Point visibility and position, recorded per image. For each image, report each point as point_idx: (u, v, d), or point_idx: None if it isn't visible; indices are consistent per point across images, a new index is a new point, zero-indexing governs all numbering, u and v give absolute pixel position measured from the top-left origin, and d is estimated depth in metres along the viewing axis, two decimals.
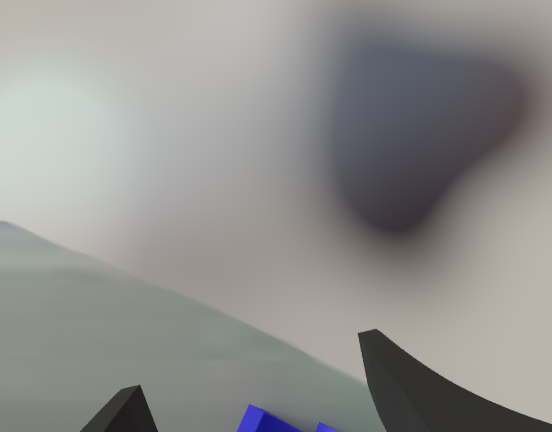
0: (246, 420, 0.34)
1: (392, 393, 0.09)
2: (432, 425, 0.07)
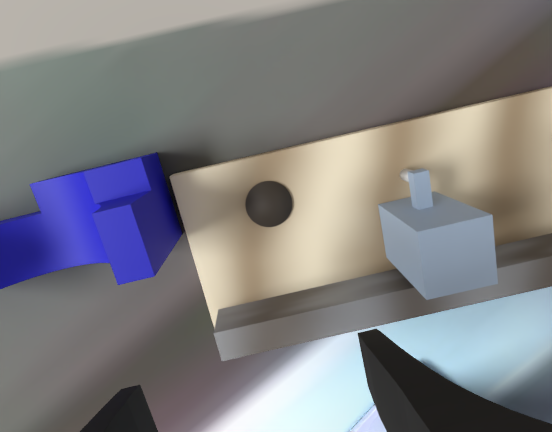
0: None
1: (392, 393, 0.09)
2: (432, 425, 0.07)
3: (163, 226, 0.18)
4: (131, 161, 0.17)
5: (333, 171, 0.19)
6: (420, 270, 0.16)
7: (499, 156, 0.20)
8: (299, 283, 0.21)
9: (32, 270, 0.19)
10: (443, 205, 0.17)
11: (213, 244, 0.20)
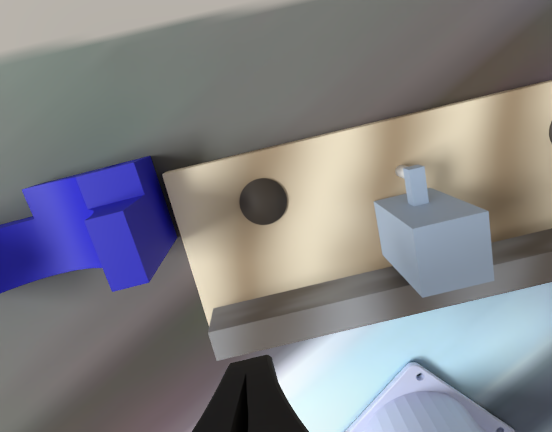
0: None
1: None
2: None
3: (157, 231, 0.18)
4: (124, 166, 0.17)
5: (328, 168, 0.19)
6: (416, 267, 0.15)
7: (495, 152, 0.19)
8: (294, 281, 0.21)
9: (26, 275, 0.19)
10: (439, 202, 0.17)
11: (207, 242, 0.20)
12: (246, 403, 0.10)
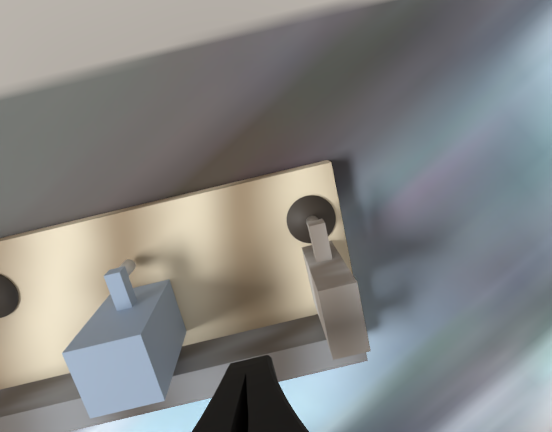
0: None
1: None
2: None
3: None
4: None
5: (56, 261, 0.18)
6: (80, 388, 0.15)
7: (233, 243, 0.19)
8: (42, 372, 0.20)
9: None
10: (139, 307, 0.16)
11: None
12: (246, 403, 0.10)
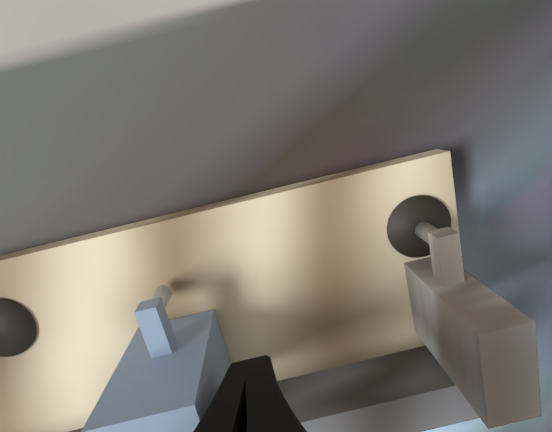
0: None
1: None
2: None
3: None
4: None
5: (86, 283, 0.14)
6: None
7: (316, 258, 0.14)
8: (66, 422, 0.16)
9: None
10: (182, 354, 0.12)
11: None
12: None
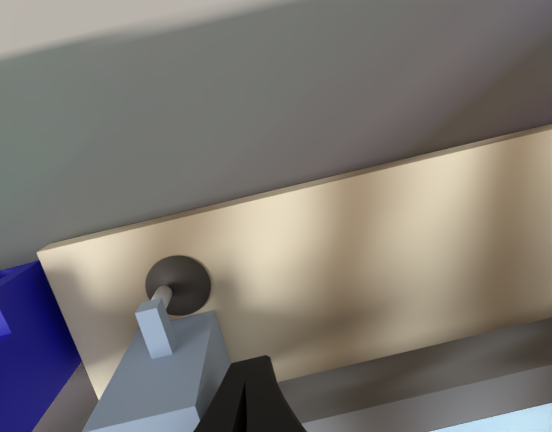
0: None
1: None
2: None
3: (34, 377, 0.13)
4: None
5: (265, 241, 0.14)
6: None
7: (492, 218, 0.14)
8: None
9: None
10: (182, 355, 0.12)
11: (105, 338, 0.15)
12: None
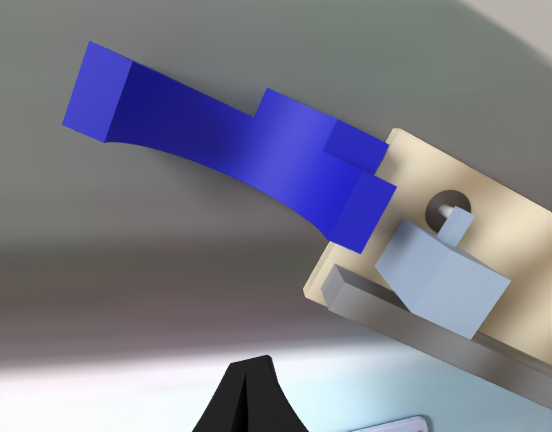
0: (88, 81, 0.13)
1: None
2: None
3: None
4: (380, 141, 0.17)
5: (511, 225, 0.20)
6: (425, 284, 0.16)
7: None
8: None
9: (205, 157, 0.18)
10: (464, 252, 0.18)
11: None
12: (246, 403, 0.10)
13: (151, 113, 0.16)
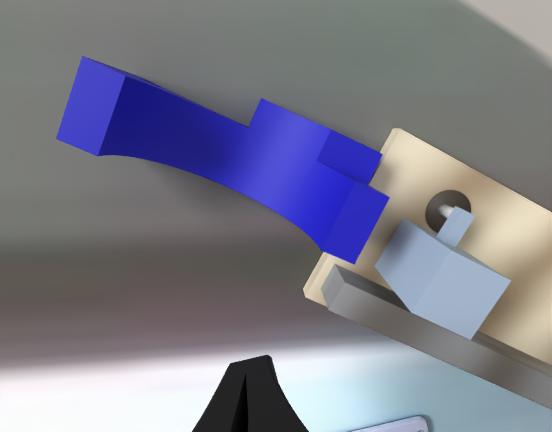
0: (81, 96, 0.13)
1: None
2: None
3: None
4: (373, 151, 0.17)
5: (511, 225, 0.20)
6: (425, 284, 0.16)
7: None
8: None
9: (199, 167, 0.18)
10: (464, 252, 0.18)
11: None
12: (246, 403, 0.10)
13: (145, 125, 0.16)
